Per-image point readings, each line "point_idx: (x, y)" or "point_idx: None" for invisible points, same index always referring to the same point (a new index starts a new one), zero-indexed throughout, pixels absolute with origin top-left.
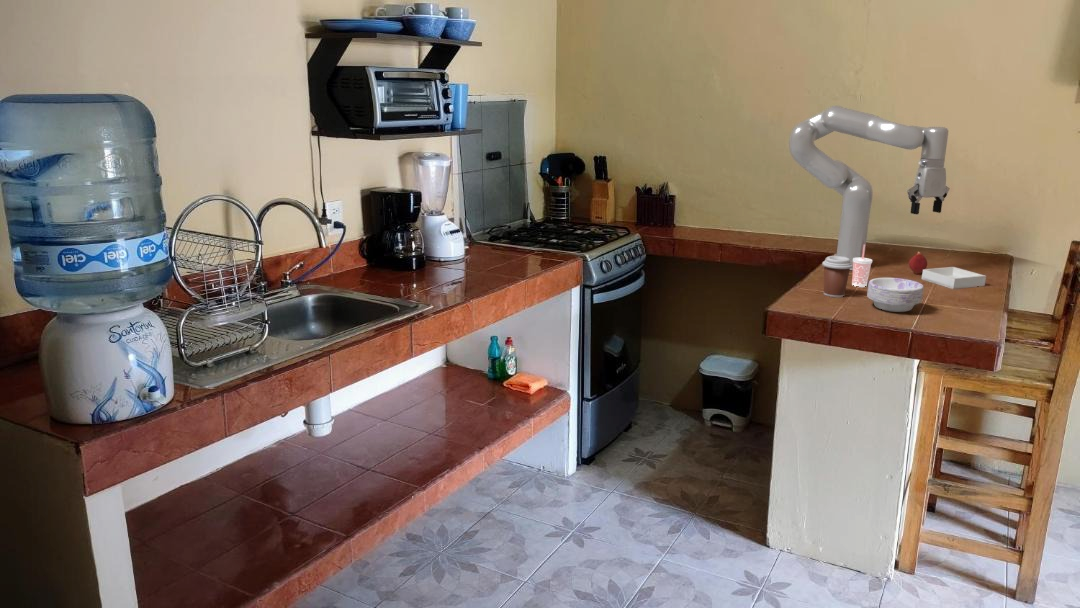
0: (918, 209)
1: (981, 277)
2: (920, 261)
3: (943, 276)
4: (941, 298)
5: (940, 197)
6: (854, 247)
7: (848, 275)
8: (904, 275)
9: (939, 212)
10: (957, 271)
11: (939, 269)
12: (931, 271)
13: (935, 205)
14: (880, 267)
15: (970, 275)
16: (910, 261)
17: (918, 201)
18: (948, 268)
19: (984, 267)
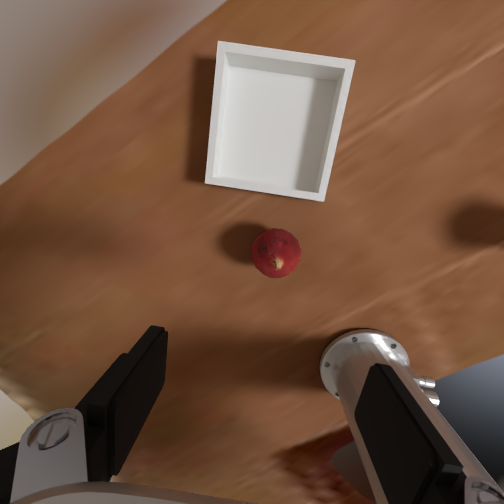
0: (407, 394)
1: (239, 45)
2: (291, 239)
3: (342, 113)
4: (485, 9)
5: (77, 476)
6: (421, 391)
7: None
8: (318, 249)
9: (163, 328)
10: (216, 160)
11: (267, 185)
12: (325, 170)
13: (141, 410)
14: (295, 329)
15: (221, 107)
16: (296, 266)
17: (473, 499)
18: (232, 180)
19: (43, 212)
